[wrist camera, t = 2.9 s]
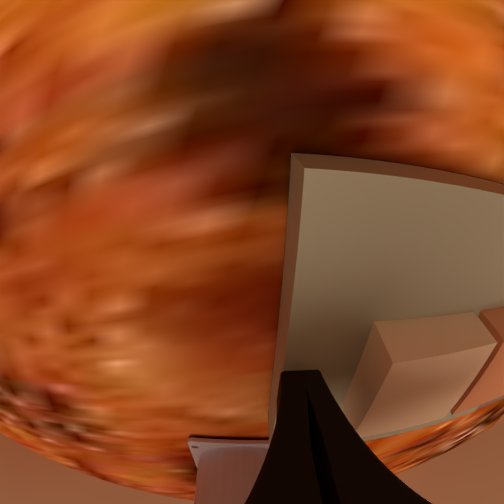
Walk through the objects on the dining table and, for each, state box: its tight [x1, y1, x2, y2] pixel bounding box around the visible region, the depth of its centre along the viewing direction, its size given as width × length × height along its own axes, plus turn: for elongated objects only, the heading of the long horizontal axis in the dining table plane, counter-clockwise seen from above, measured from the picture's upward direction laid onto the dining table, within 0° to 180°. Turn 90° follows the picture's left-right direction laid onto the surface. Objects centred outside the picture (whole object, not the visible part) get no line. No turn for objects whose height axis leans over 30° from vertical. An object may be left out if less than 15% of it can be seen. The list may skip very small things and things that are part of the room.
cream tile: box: [343, 312, 497, 437], centre depth 10 cm, size 5×5×2 cm
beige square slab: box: [268, 153, 504, 445], centre depth 12 cm, size 15×15×2 cm
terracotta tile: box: [450, 307, 504, 415], centre depth 10 cm, size 5×5×2 cm
